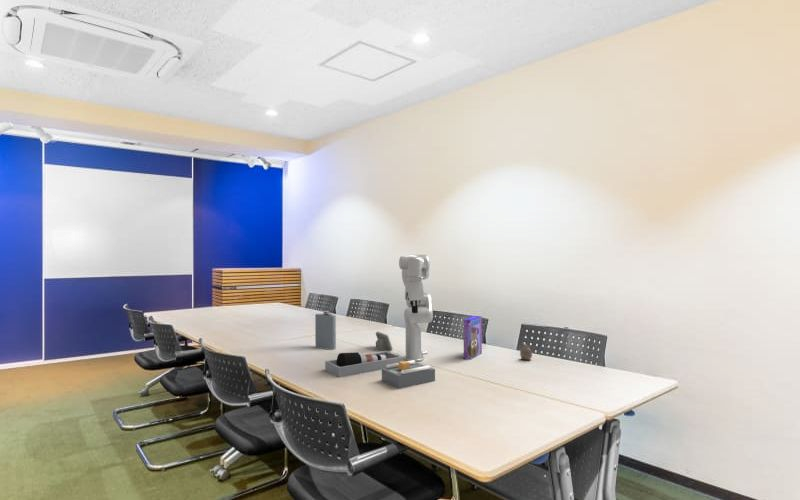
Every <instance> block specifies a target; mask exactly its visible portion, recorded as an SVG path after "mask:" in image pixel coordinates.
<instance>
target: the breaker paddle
mask: <svg viewBox="0 0 800 500" xmlns="http://www.w3.org/2000/svg"><path fill="white" fill-rule="evenodd" d="M399 369H400V370H407V369H410V362H407V361H406V360H403V361H402V362H399Z"/></svg>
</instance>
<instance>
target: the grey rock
mask: <svg viewBox="0 0 800 500" xmlns="http://www.w3.org/2000/svg"><path fill="white" fill-rule="evenodd" d="M375 336H376V338H377V340H376V341H375V349H377V350H379V351H380V352H384V351H393V344H392V342H391V340H390V337H389V335H388V334H385V333H383V332H381V331H376V332H375Z"/></svg>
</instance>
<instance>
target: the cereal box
mask: <svg viewBox="0 0 800 500" xmlns="http://www.w3.org/2000/svg"><path fill="white" fill-rule="evenodd" d="M482 321H483V320H482V316H481V315H474V316H471V317H467V318H465V319H463V360H472V359H475V358H476V357H478V356H480V355H482V353H483V349H482V348H483V346H482V345H483V344H482V343H483V341H482V339H483V337H482V335H483V333H482V332H483V330H482V328H483V327H482V326H483V325H482V323H483V322H482Z"/></svg>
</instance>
